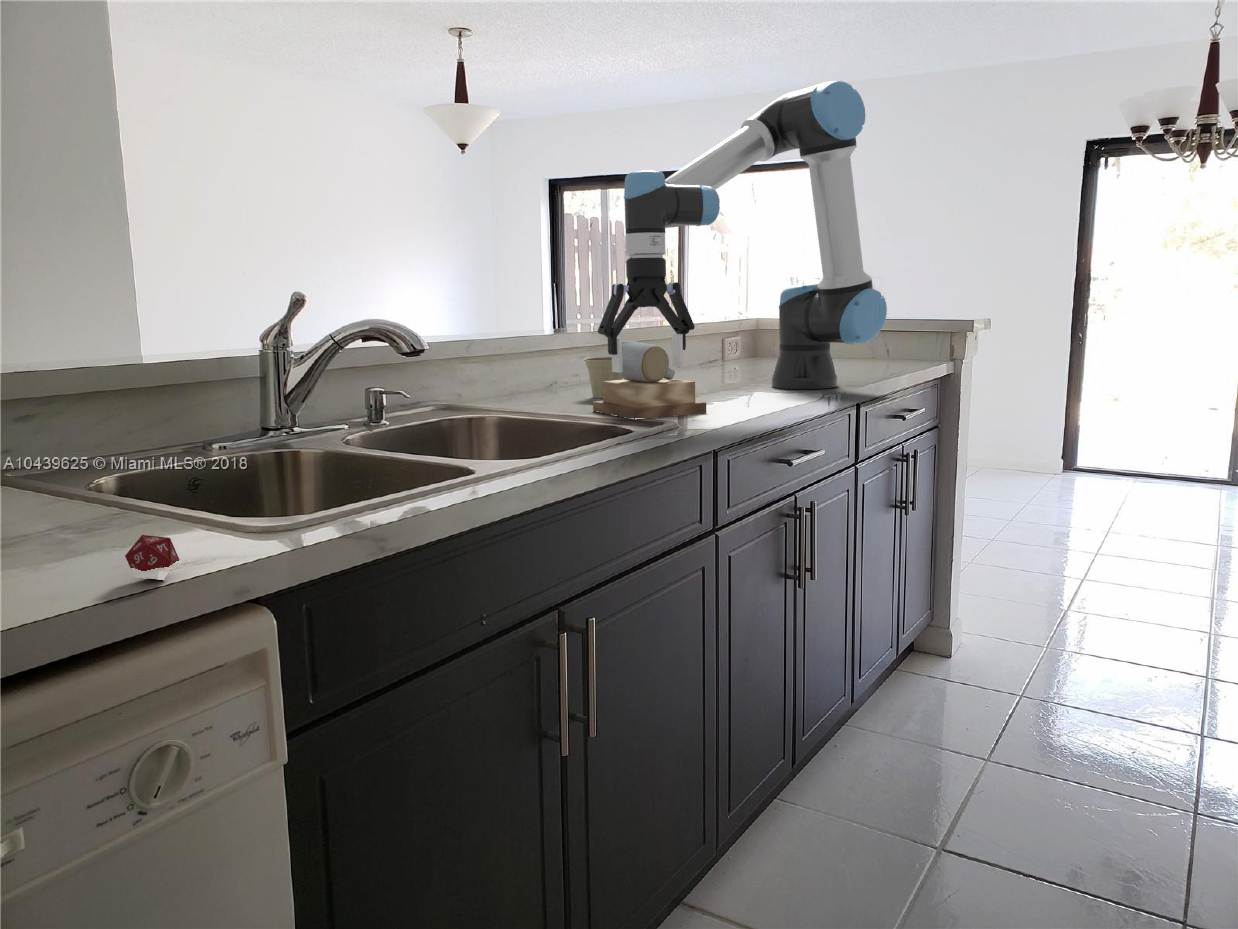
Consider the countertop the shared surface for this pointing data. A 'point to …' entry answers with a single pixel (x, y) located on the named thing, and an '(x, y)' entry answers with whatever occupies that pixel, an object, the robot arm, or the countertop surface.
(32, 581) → the countertop surface
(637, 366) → the ceramic mug
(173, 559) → the dice
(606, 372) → the flower pot
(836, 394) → the countertop surface
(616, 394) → the pedestal block
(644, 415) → the board
